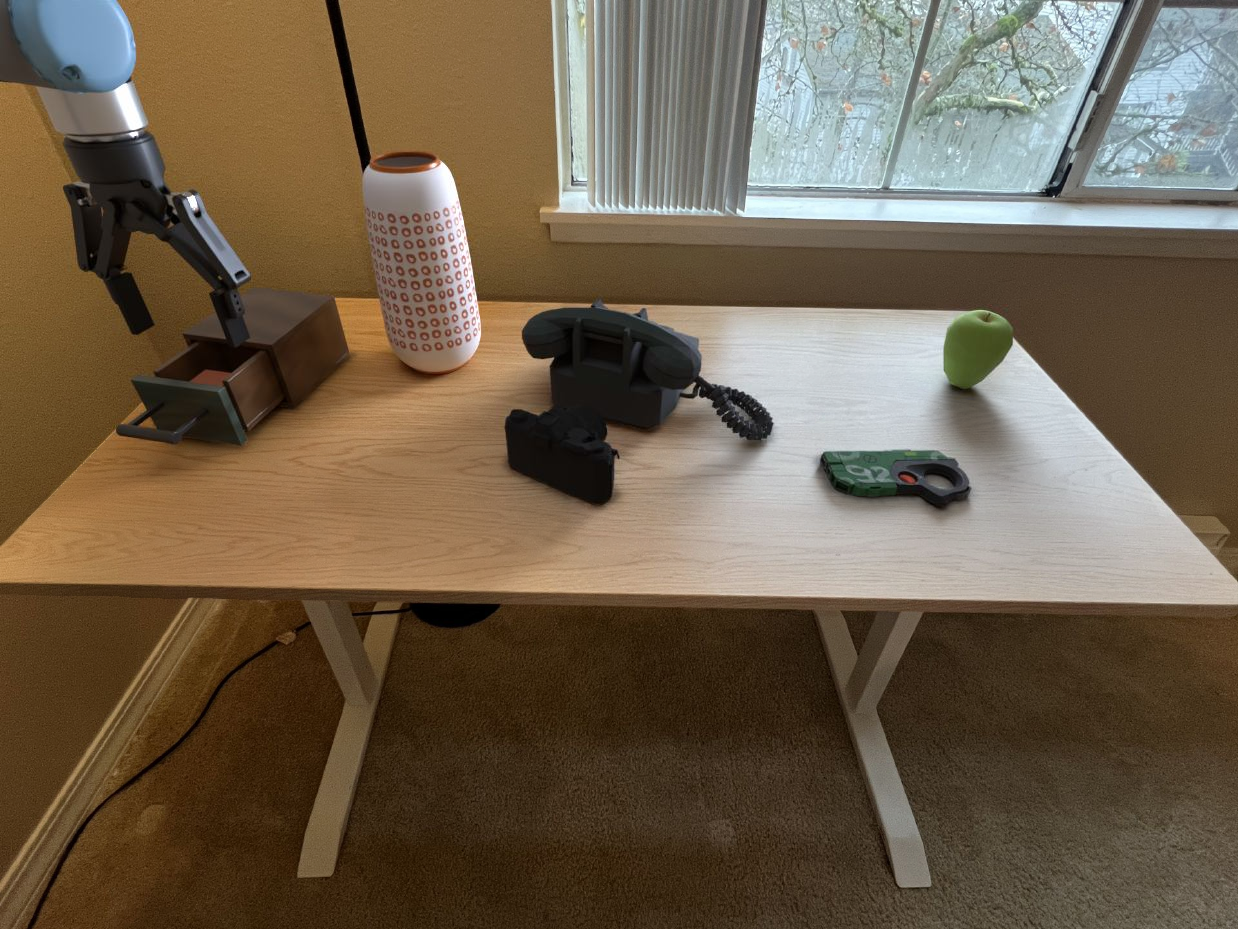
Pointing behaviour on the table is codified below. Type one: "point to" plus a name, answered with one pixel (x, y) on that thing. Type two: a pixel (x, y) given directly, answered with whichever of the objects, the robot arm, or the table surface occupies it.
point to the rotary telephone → (630, 368)
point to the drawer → (206, 395)
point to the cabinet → (287, 337)
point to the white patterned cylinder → (421, 260)
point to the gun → (894, 473)
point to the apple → (975, 347)
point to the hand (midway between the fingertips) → (191, 336)
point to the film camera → (563, 450)
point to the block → (211, 377)
